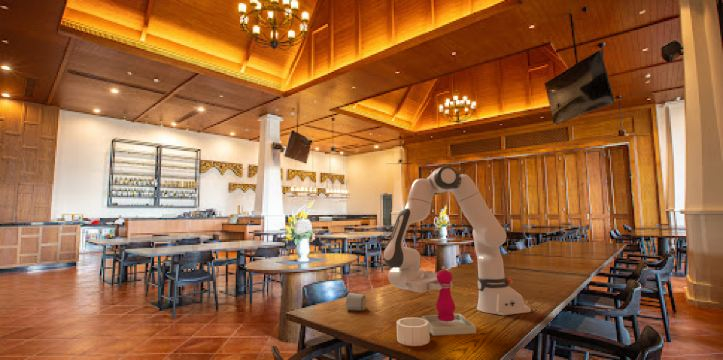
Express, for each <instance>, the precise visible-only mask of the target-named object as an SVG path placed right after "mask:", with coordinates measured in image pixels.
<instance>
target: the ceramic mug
mask: <svg viewBox="0 0 723 360" xmlns="http://www.w3.org/2000/svg"><path fill="white" fill-rule="evenodd" d="M345 299H346V300H345V306H346V310H348V311H357V312H359V311H360V312H362V311H363V312H364V310H365V309H366V307H367V297H366V295H365V294H362V293H355V292H354V293H353V292H349V293H348V294H347V296H346V298H345Z"/></svg>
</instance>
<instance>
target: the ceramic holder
mask: <svg viewBox="0 0 723 360" xmlns="http://www.w3.org/2000/svg"><path fill="white" fill-rule="evenodd" d="M430 335H431V332H430V331H429V322H428V321H427V320H425V319H422V317H403V318H398V320H396V340H397V342H398V343H399V344H401V345H404V346H408V347H409V346H410V347H420V346H425V345H427V344H429V343H430V341H431V336H430Z"/></svg>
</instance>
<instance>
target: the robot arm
mask: <svg viewBox="0 0 723 360" xmlns="http://www.w3.org/2000/svg"><path fill="white" fill-rule="evenodd" d="M446 192H451V194H452V195H453V196H454V198H455V199H456V202H457V203H458V206H459V207H460V209H461V211H462V213H463V215H464V217H465V218H466V220H467V221H468V222H469V224H470V225H471V227H472V237H473V243H474V249H475V254H476V259H477V260H476V261H477V273H478V276H477V289H478V301H477V305H476V309H477V311H479V312H482V313H487V314H495V315H500V316H509V315H515V314H516V315H517V314H524V313H525V314H526V313H530V312H532V310H531V307H529V305H528V306H527V305H526V304H525V300H524V298H523V296H522V295H521V294H520V293H519V292H518V291H516V290H515V289H513V288H512V287H511V286H510V285H513V283H514V280H513V279H511V278H506V277H505V270H504V259H503V256H502V254H501V250H500V246H502V245H503V244H504V243H506V240H507V231H506V230H505V228H503V226H502V225H501V224H500V221H498V218H496V216H495V214H494V213H493V212H492V210H490V207H489V206H488V205H487V203H486V201H485V199H484V197H483V196H482V193H481V192H480V190H479V188H478V187H477V185H476V184H475V182H474V181H473V179H472V178H471V177H470V176H469V175H468V174H466V173H464V174H463V173H461V174H460V173H459V172H458V171H457V170H456V169H455V168H453V167H452V166H449V165H444V166H440V167H438V168H437V169H435V170H433V171H432V172H431V173H430V174H429V175H428V176H427V177H426V178H417V179H415V180H414V181H412V184H411V186H410V189H409V192H408V195H407V200H406V204H405V206H404V207H403V209H401V210H400V211H399V213H398V215H397V216H396V220H395V222H394V226H393V227H392V231H391V235H390V236H389V239H388V242H387V244H386V246H385V248H384V250H383V251H382V252H383V253H382V257H383V262H384V263H385V265H386V266H387V267H389V270H388V273H387V279H388V283H390V284H391V285H392V286H393V287H395V288H397V289H402V290H406V291H407V290H410V292H416V293H421V294H422V293H425V292H429V291H435V290H439V291H440V290H441V289H443V285H441V284H438V283H439V281H438V280H437V273H436V272H435V271H431V270H430V271H429V270H428V271H426V270H420V268H421V262H422V257H421V254H420V251H418V250H417V249H415V248H412V247H410V246H409V247H408V246H405V245H403V243H404V241H405V240H404V239H405V237H406V233H407V231H408V228H409V227H410V225H411V224H413V223H418V222H423V221H424V220H425V219H427V218H428V217H429V215H430V211H431V207H432V203H433V202H432V201H433V197H434V196H435V195H440V194H443V193H446ZM390 268H391V269H390ZM450 283H451V287H450V288H453V287H454V286H453V285H454V283H453V282H452V281H451V282H450Z"/></svg>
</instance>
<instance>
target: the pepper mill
mask: <svg viewBox="0 0 723 360" xmlns="http://www.w3.org/2000/svg"><path fill="white" fill-rule="evenodd" d="M436 274H437V280H438V281H439V283H438V284H441V285H443V289H441V290H439V295H438V297H437V300H436V305H435V308H436V311H437V312H438V313H437V315H438V319H439V320H441V321H453V320H454V314H455V313H454V312H455V310H456V304H455V302H454V298H453V297H452V294H451V293H452V292H451V288H452V287H451V283H450V282H452V280H453V275H452V273H451V271H449V270H447V267H446V266H445V265H444V266H443V265H442V267H441V270H439V271H438V272H437V273H436Z"/></svg>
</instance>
